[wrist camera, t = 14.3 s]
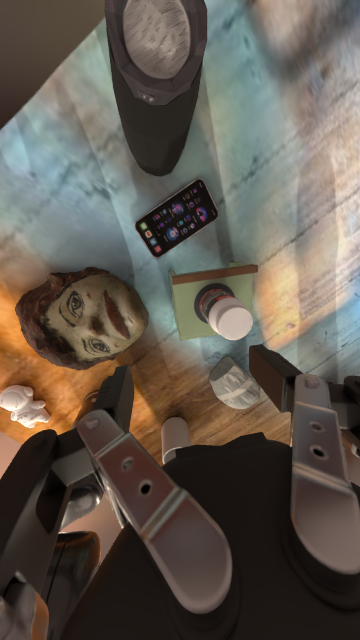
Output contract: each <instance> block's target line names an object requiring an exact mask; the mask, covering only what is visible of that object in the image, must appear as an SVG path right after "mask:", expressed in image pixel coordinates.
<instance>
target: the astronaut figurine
mask: <svg viewBox="0 0 360 640" xmlns="http://www.w3.org/2000/svg"><path fill="white" fill-rule="evenodd" d="M33 393H34V391H33V389H32V388H30V387H24V386H20V385H13V386H9V387H7V388H5V389H4V390H3V391H2V392H1V394H0V406H1V407H4V408H5V409H7V410H10V411H13V413H12V414H11V420H13V421H15V420H17V421H19V422H20V423H21V424H23V425H24V426H25V427H28V428H33V427H35V425H36V421H40V422H42V421H43V422H48V421H49V420H50V415H49V414H48V412H47V411H46V410H45V409H44V408H43V407H44V406H45V405H46V402H45V401H33Z"/></svg>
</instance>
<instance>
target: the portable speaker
mask: <svg viewBox="0 0 360 640" xmlns="http://www.w3.org/2000/svg"><path fill="white" fill-rule="evenodd" d="M105 17H106V25H107V28H106V29H107V38H108V46H109V55H110V63H111V72H112V80H113V89H114V94H115V98H116V102H117V107H118V111H119V115H120V118H121V122H122V126H123V130H124V134H125V137H126V140H127V142H128V145H129V147H130V150H131V152H132V154H133V156H134V158H135V159H136V161H137V163H138V164H139V166H140V168H141V169H143V170H144V171H145V172H146V173H149V174H152V175H154V176H164V175H166V174H168V173H171V171H172V170H173V168H174V167H175V165H176V163H177V162H178V160H179V157H180V155H181V153H182V150H183V148H184V146H185V142H186V139H187V135H188V131H189V128H190V124H191V120H192V117H193V113H194V109H195V106H196V102H197V98H198V92H199V84H200V77H201V69H202V61H203V55H204V51H205V46H206V42H207V8H206V5H205V2H204V0H105Z"/></svg>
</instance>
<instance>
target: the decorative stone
mask: <svg viewBox="0 0 360 640" xmlns="http://www.w3.org/2000/svg"><path fill="white" fill-rule="evenodd" d="M209 381H210V383H211V385H212V389H213V391H214V393H215V394H216V396H217V397H218V398H219V399H220V400H221V401H223V402H224V403H225V404H227V405H228V406H230V407H233V408H237V409H246V408H248V407H250V406H251V405H253V404H254V403H256V402H257V401H258V399H259V398H260V385H259V384H258V383H257V382H256V381H255V380H253V379H252V378H251V377H250V376H249V375H248V374H247V373H246V372H245V371H244V370H242V369H241V368H240V367H239V366H238V365H237V363H236V362H235V361H234V360H233V359H232V358H229V357H226V358H222V359H221V361H220V362H219V363H218V365H217V366H216V367H215V368H214V369H213V371H212V372H211V373H210V376H209Z"/></svg>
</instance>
